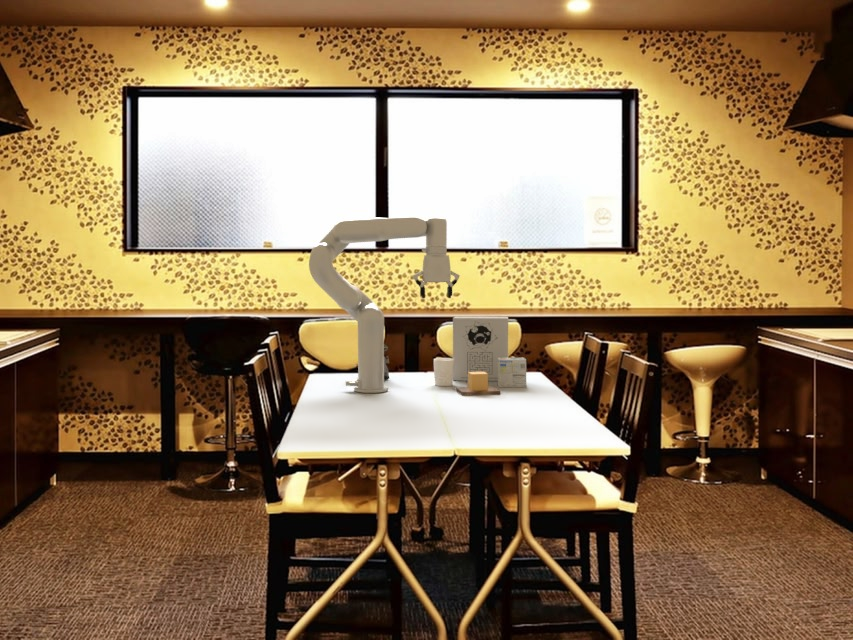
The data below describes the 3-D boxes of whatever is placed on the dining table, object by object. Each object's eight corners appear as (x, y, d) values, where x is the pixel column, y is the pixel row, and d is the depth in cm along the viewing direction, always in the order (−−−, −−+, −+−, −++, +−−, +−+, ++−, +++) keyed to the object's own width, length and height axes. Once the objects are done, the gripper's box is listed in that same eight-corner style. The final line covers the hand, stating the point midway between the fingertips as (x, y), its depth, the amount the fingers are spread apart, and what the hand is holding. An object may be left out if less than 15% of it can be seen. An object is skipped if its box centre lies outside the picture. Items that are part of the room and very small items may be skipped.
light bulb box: (524, 384, 355) (524, 356, 354) (526, 387, 349) (527, 359, 348) (496, 384, 355) (496, 357, 354) (498, 387, 348) (498, 359, 347)
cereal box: (507, 378, 371) (508, 316, 369) (507, 381, 363) (507, 318, 361) (454, 377, 373) (454, 316, 371) (452, 380, 365) (452, 317, 363)
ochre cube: (471, 390, 333) (471, 374, 333) (468, 388, 339) (468, 371, 339) (487, 390, 334) (487, 373, 334) (483, 387, 340) (484, 371, 340)
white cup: (431, 386, 352) (431, 360, 351) (436, 383, 359) (436, 357, 358) (451, 386, 350) (451, 360, 349) (456, 383, 357) (456, 358, 356)
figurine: (373, 377, 375) (373, 340, 374) (391, 380, 367) (391, 342, 365) (355, 379, 369) (355, 342, 368) (373, 382, 361) (373, 344, 359)
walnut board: (462, 395, 330) (462, 392, 330) (456, 390, 341) (456, 387, 341) (500, 394, 333) (500, 390, 332) (493, 389, 343) (493, 386, 343)
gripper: (414, 251, 333) (414, 298, 335) (461, 251, 336) (461, 298, 338) (411, 251, 341) (411, 297, 342) (457, 251, 344) (457, 297, 345)
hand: (436, 297), depth 340 cm, fingers open, 9 cm apart
